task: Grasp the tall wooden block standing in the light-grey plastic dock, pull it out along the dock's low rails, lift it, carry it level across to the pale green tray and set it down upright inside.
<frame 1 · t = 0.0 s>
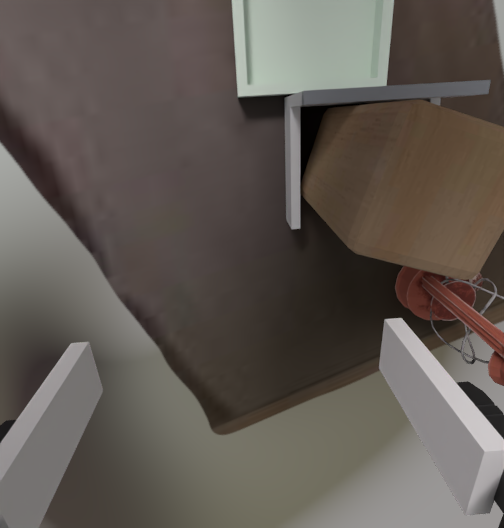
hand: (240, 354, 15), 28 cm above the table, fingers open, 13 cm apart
dock: (349, 163, 40), on the table
tray: (308, 9, 34), on the table
wooden block: (348, 162, 40), on the table
lantern: (429, 278, 47), on the table
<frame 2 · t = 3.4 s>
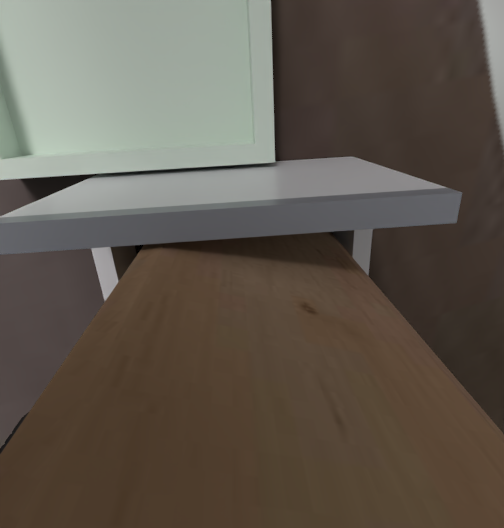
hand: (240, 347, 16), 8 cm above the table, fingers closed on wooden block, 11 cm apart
dock: (237, 273, 23), on the table
tray: (118, 12, 17), on the table
wooden block: (237, 272, 24), on the table, touching gripper
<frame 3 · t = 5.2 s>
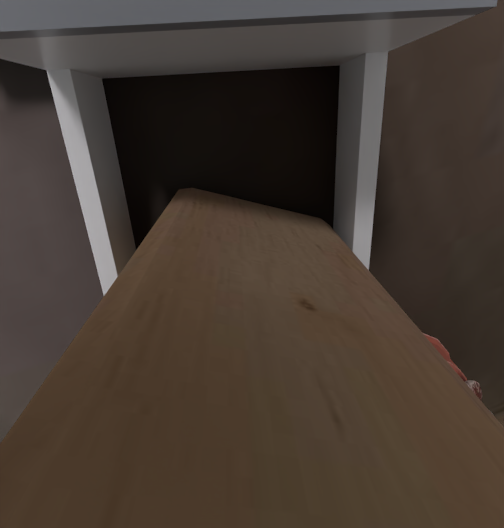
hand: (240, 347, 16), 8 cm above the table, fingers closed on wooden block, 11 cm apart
dock: (230, 187, 21), on the table
wooden block: (238, 268, 24), on the table, touching gripper
lantern: (392, 373, 28), on the table
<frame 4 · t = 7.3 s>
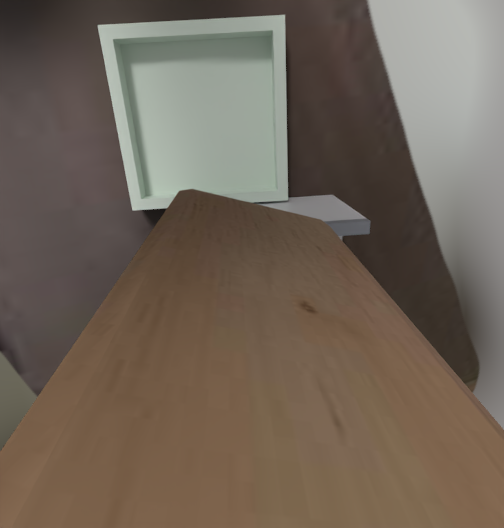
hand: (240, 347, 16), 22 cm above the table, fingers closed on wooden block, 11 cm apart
dock: (263, 264, 38), on the table
tray: (204, 121, 33), on the table
wooden block: (238, 269, 24), point 14 cm above the table, touching gripper
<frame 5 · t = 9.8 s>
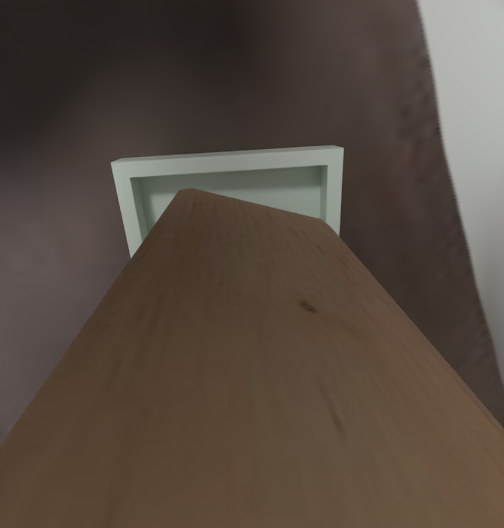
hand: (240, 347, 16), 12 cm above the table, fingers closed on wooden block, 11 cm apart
tray: (236, 249, 27), on the table
wooden block: (238, 269, 24), point 4 cm above the table, touching gripper
when the fingers open (11 cm above the table, at t = 11.3 s): wooden block drops 2 cm, resting on tray.
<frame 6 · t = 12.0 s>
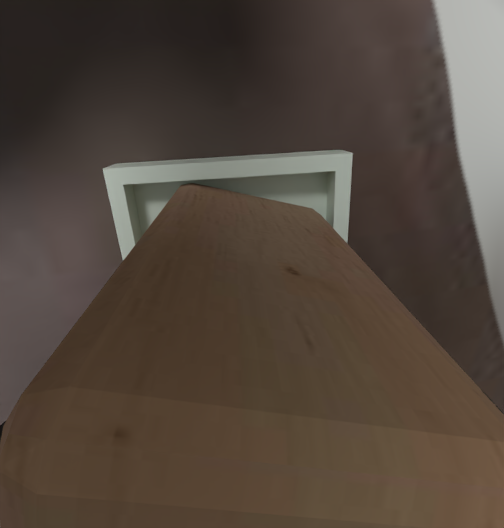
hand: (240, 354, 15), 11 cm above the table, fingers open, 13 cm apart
tray: (237, 260, 26), on the table
wooden block: (237, 258, 25), resting on tray
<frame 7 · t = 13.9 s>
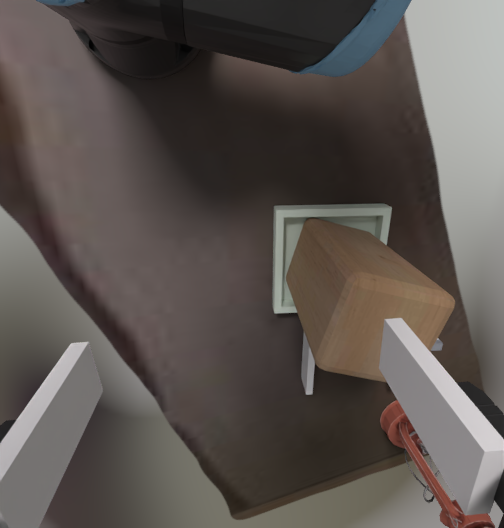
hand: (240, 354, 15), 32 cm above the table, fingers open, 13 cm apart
dock: (349, 343, 55), on the table
tray: (325, 256, 49), on the table
wooden block: (326, 255, 48), resting on tray
lantern: (405, 414, 62), on the table
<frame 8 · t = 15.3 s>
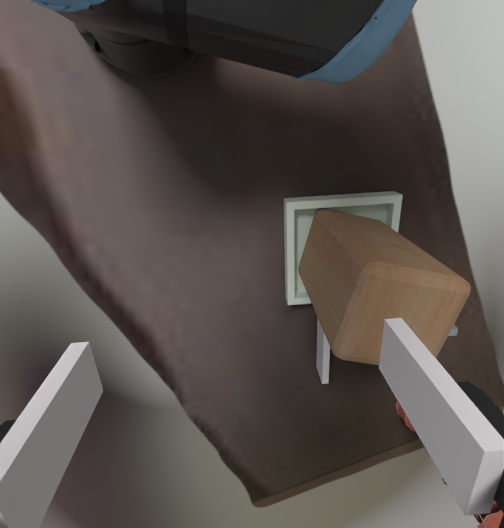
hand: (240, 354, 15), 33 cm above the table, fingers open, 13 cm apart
dock: (363, 332, 55), on the table
tray: (336, 246, 49), on the table
wooden block: (337, 245, 49), resting on tray
lantern: (421, 400, 62), on the table
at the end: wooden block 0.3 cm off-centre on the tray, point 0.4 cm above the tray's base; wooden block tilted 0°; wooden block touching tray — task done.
